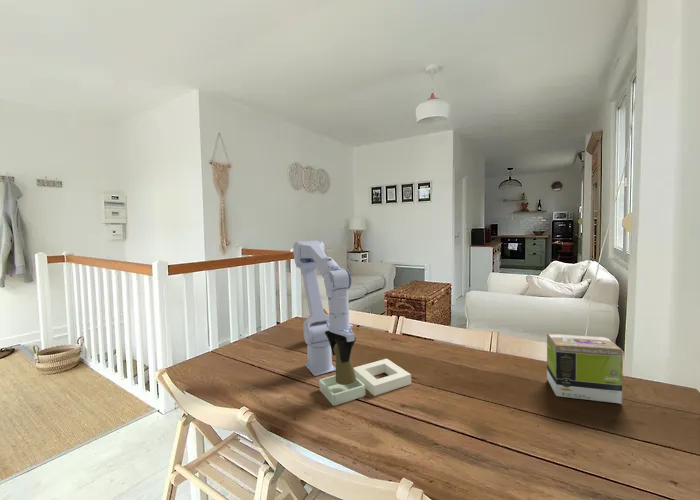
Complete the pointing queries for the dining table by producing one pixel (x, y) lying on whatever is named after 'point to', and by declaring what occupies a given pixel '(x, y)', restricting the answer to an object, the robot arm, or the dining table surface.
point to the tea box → (585, 367)
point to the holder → (385, 384)
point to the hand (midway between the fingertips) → (340, 358)
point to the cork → (344, 369)
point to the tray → (341, 390)
